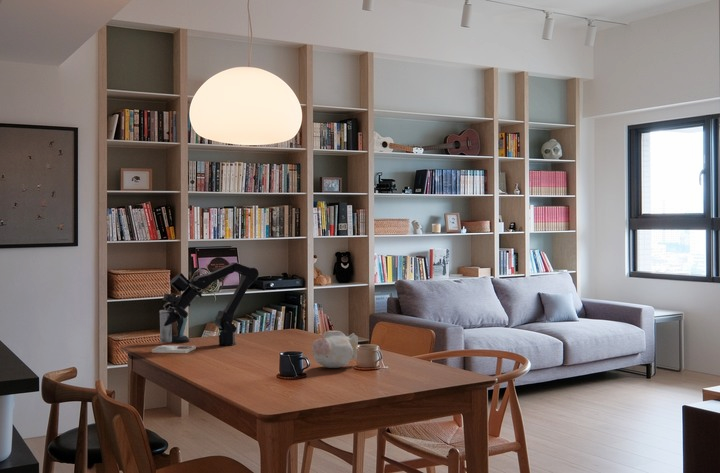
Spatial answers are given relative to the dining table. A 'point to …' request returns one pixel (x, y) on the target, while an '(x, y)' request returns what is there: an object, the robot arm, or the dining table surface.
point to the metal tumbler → (165, 330)
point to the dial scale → (173, 349)
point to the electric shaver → (180, 332)
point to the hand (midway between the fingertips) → (162, 324)
